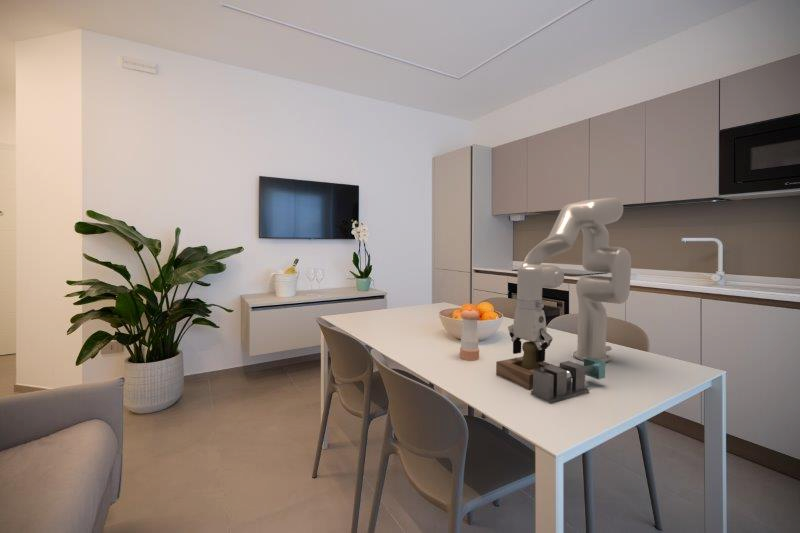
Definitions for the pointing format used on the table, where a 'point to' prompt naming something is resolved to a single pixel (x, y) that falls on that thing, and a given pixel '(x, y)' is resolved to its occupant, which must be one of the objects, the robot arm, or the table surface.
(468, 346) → the salt shaker
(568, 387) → the shaft bracket
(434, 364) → the table surface
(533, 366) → the olive brown pear shape
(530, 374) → the walnut holder
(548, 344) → the robot arm
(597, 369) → the steel shaft
